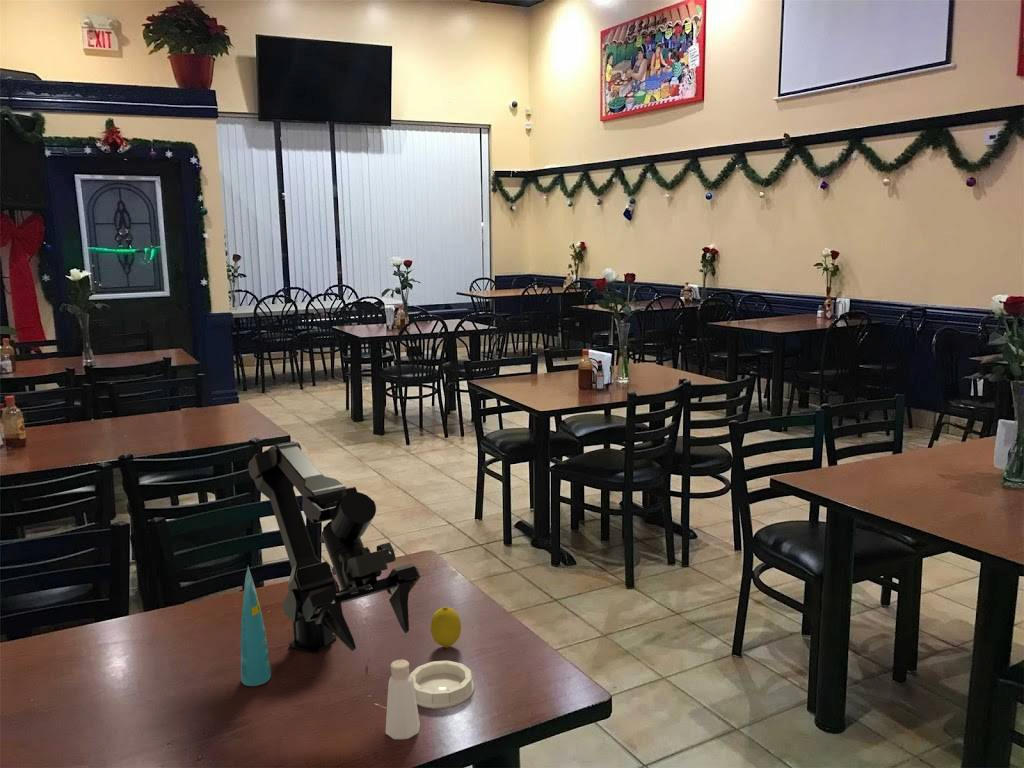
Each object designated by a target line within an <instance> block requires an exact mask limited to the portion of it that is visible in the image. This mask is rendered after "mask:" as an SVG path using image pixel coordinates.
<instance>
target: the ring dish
mask: <svg viewBox="0 0 1024 768" xmlns="http://www.w3.org/2000/svg"><path fill="white" fill-rule="evenodd" d="M409 675H411V676H412V677H413V682H414V689H415V695H416V702H417V706H419V707H422V708H425V709H433V710H434V709H436V710H438V709H440V710H442V709H447V708H453V707H456V706H459V705H461V704H463V703H465V702H466V701H468V700H469V699H470V698H471V697H472V695H473V693H474V692H475V691H474V690H475V683H474V681H473V678H472V671H471V669H470V668H468V667H467V666H466V665H465V664H463V663H460V662H456V661H451V660H437V661H430V662H427V663H424V664H422V665H419V666H417V667H416V668H415V669H413V671H411V672H410V673H409Z"/></svg>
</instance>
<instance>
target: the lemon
mask: <svg viewBox="0 0 1024 768" xmlns="http://www.w3.org/2000/svg"><path fill="white" fill-rule="evenodd" d="M461 631H462V623H461V619H460V616H459V614H458V612H457V611H455V610H454V609H453V608H452V607H448V606H446V605H445V606H443V607H441V608H439V609H437V610H436V611H435V612H434V613H433V615H432V617H431V620H430V634H431V636H432V639H433V640H434V642H435V643H436V644H437V645H439V646H441V647H444V649H447V648H449V647H450V646H452V645H454V644H455V643H456V642H457V641H458V640H459V638H460V636H461Z"/></svg>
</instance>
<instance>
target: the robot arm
mask: <svg viewBox="0 0 1024 768" xmlns="http://www.w3.org/2000/svg"><path fill="white" fill-rule="evenodd" d="M248 474H249V477H250V478H251V479H252V480H253V481H254V482H253V483H254V484H255V486H256V490H258V492H260V493H262V494H263V495H264V496H265V497H267V498H268V499H269V501H270V504H271V507H272V510H273V514H274V517H275V520H276V523H277V526H278V530H279V531H280V535H281V539H282V542H283V544H284V549H285V551H286V555H287V557H288V561H289V564H290V566H291V572H290V576H289V578H288V579H289V580H288V582H287V588H288V589H287V590H288V592H287V595H286V597H285V598H284V600H283V602H282V607H283V611H284V615H285V616H286V617H288V618H289V619H290V621H292V630H293V640H292V641H291V642H290V643H288V648H292V649H296V650H300V651H305V652H309V653H313V654H317V653H319V652H320V651H322V650H323V649H324V648H326V647H327V646H329V644H331V643H333V641H334V640H337V638H338V639H339V640H340V641H341V642H342V643H343V644H344V645H345V646H346V647H347V648H348V649H349V650H350V651H352V652H354V651H355V650H356V648H357V646H356V642H355V639H354V636H353V635H352V631H351V630H350V628H349V625H348V624H347V621H346V618H345V616H344V612H343V609H342V608H343V607H342V604H343V603H347V602H351V601H355V600H356V599H361V598H364V597H368V596H372V595H374V594H378V593H382V592H385V591H386V592H387V594H389V595H391V596H390V597H389V599H388V600H389V603H390V605H391V607H392V610H393V611H394V615H395V617H396V619H397V622H398V624H399V626H400V627H401V629H402V631H403V632H404V634H408V632H409V631H410V623H409V620H410V619H409V594H410V592H411V590H412V589H413V588H414V587H415V585H416V583H418V581H419V580H420V578H421V574H420V572H419V569H418V567H417V566H415V565H413V564H412V563H409V564H406V565H405V564H404V565H402V566H398V567H395V568H392V569H391V571H390V573H388V576H387V577H384V578H381V579H377V578H379V577H381V575H382V574H383V573H382V572H383V571H386V570H388V569H389V568H388V564H389V563H393V562H396V557H397V556H396V553H395V550H394V548H393V546H392V543H391V542H390V541H389V542H385V543H381V544H378V545H376V551H371V550H370V548H369V547H368V546H366V547H365V546H364V544H363V541H362V536H364V534H365V533H366V531H367V529H368V528H369V527H370V526H369V525H370V524H371V522H372V520H373V519H374V517H375V515H376V514H377V506H376V503H375V501H374V500H373V499H372V498H371V497H370V496H369V495H367V494H365V493H363V492H359V491H358V489H357V488H356V486H351V487H347V486H346V485H344V484H343V483H342V482H341V481H340V480H338V479H337V478H333V477H329V476H326V475H324V474H323V473H322V472H321V471H320V470H319V469H318V468H317V466H316V465H315V464H314V463H313V462H312V461H311V460H310V458H309V457H308V456H307V455H306V453H304V452H303V451H302V447H301V444H300V442H298V441H287V442H282V443H275V444H274V445H272V446H270V447H269V448H268V449H266V450H264V451H262V452H259V453H255V454H254V455H253V457H252V458H251V459H250V460H249V462H248ZM294 487H295V488H296V490H297V491H298V492H299V494H300V495H301V497H302V502H301V503H302V509H301V507H300V504H299V502H298V498H297V495H296V493H295V489H294ZM301 510H303V514H304V516H305V517H306V519H308V520H309V521H310V522H311V523H312V524H319V523H323V522H328V521H329V522H328V523H326V525H325V526H323V527H322V531H321V535H320V539H319V540H320V543H321V544H324V546H325V549H326V551H327V555H328V556H329V559H330V561H331V565H332V568H331V565H330V564H329V562H328V561H323V562H322V561H321V560H320V559H318V557H317V556H316V553H315V550H314V546H313V544H312V541H311V538H310V534H309V531H308V528H307V525H306V521H305V519H304V516H303V514H302V511H301ZM335 575H336V577H337V580H338V581H337V580H336V578H334V576H335Z"/></svg>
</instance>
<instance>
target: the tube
mask: <svg viewBox="0 0 1024 768" xmlns="http://www.w3.org/2000/svg"><path fill="white" fill-rule="evenodd" d="M243 587H244V588H243V594H242V597H243V598H242V610H241V623H240V625H241V627H240V676H241V677H240V678H241V679H240V680H241V683H242V684H243V685H244V686H247V687H248V686H249V687H257V686H261V685H264V684H265V683H267V682H268V681H269V680H270V679H271V677H272V673H271V672H272V671H271V663H270V655H269V649H268V641H267V634H266V630H265V629H266V628H265V624H264V617H263V615H262V614H263V613H262V609H261V603H260V601H259V598H258V597H259V596H258V593H257V589H256V586H255V583H254V579H253V577H252V574H251V571H250V567H249V565H247V570H246V573H245V578H244V586H243Z"/></svg>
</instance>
